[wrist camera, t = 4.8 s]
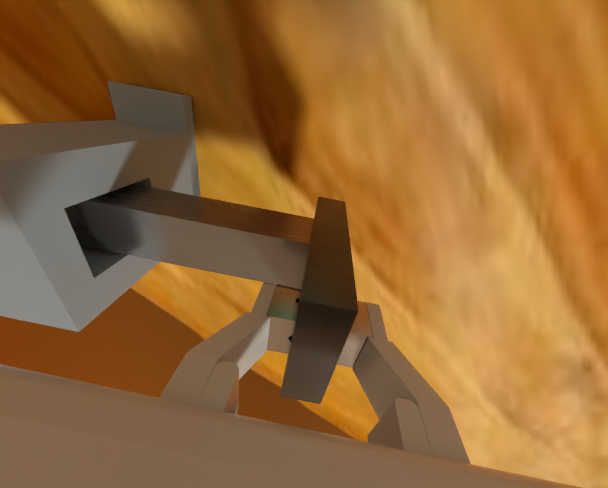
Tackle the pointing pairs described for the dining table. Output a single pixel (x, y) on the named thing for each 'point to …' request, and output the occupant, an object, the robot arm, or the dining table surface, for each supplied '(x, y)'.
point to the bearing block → (80, 187)
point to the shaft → (243, 260)
